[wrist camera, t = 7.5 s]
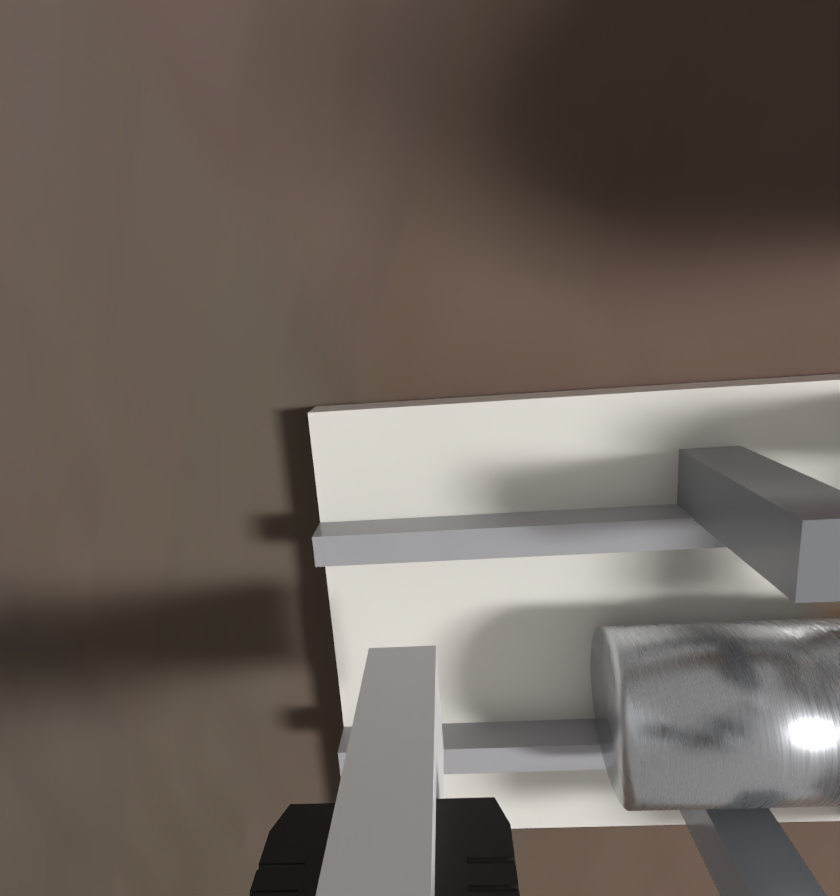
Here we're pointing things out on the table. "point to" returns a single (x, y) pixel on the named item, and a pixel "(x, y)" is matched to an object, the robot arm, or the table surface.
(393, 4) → the table surface
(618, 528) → the collar board
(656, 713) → the tube
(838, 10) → the table surface
